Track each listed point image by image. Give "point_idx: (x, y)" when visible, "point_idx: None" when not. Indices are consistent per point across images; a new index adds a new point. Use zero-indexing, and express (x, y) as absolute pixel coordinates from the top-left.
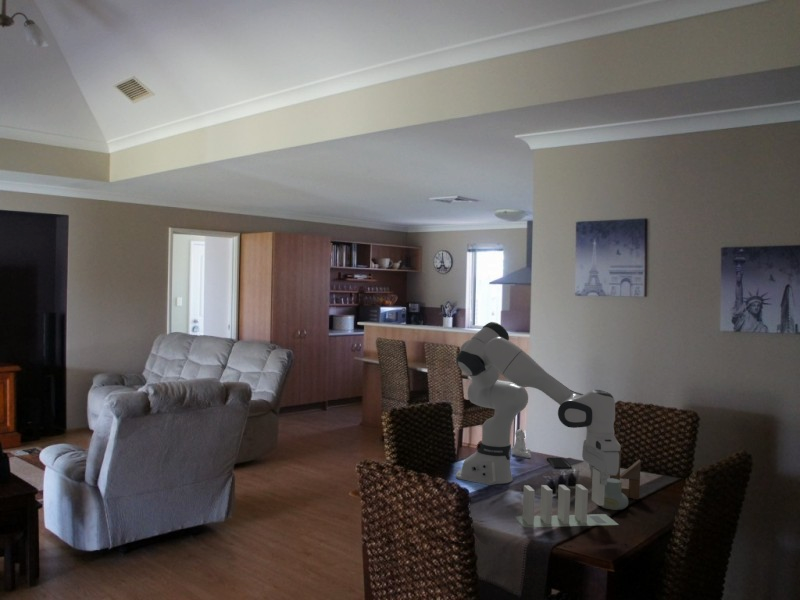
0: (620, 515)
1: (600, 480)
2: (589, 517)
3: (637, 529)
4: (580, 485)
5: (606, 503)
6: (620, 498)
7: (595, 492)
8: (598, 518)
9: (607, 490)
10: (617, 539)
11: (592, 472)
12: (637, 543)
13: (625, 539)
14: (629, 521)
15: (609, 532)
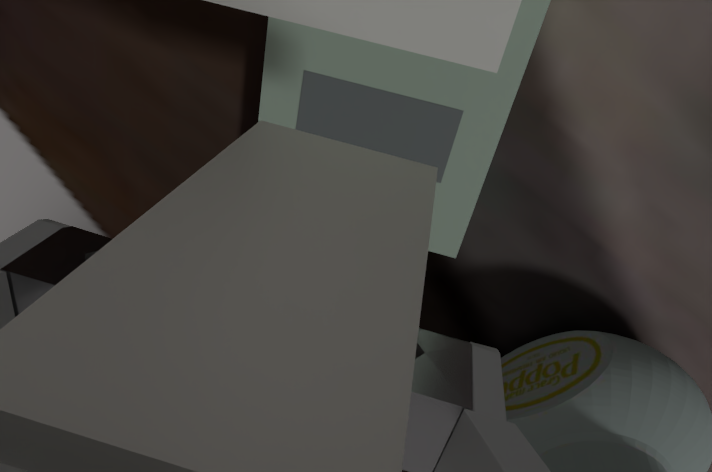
0: None
1: (48, 259)
2: (438, 95)
3: None
4: (443, 18)
5: (553, 362)
6: None
7: (320, 188)
8: (393, 150)
9: (592, 460)
10: (72, 39)
11: (459, 428)
12: (16, 120)
13: (73, 94)
14: None
15: (192, 74)
